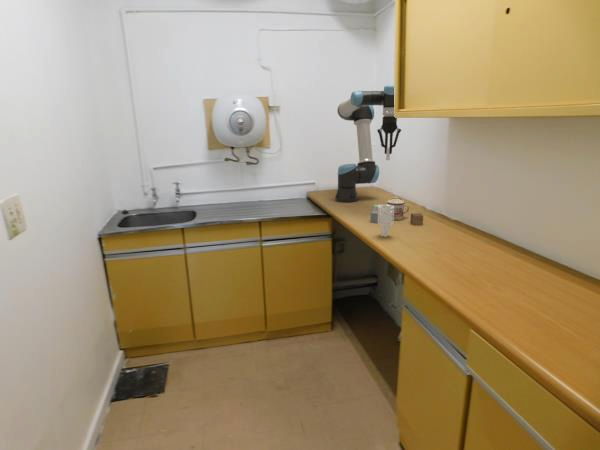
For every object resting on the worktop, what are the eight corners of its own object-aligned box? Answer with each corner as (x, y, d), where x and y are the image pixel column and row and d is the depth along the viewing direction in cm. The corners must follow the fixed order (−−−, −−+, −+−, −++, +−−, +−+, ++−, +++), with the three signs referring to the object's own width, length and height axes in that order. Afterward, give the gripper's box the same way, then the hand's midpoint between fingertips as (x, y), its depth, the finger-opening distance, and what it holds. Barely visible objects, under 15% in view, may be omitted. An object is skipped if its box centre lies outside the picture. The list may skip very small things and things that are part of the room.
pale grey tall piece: (379, 238, 168) (380, 206, 163) (375, 233, 174) (376, 202, 170) (394, 237, 168) (396, 205, 164) (390, 233, 175) (391, 202, 171)
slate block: (373, 219, 198) (373, 210, 197) (382, 220, 196) (382, 211, 195) (370, 222, 194) (370, 212, 193) (379, 223, 192) (380, 213, 191)
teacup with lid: (389, 220, 196) (390, 198, 193) (384, 216, 205) (385, 195, 202) (411, 219, 197) (412, 198, 194) (405, 215, 206) (407, 194, 203)
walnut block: (410, 222, 192) (410, 213, 191) (420, 222, 192) (420, 213, 191) (412, 225, 188) (413, 215, 186) (422, 225, 187) (423, 215, 186)
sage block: (372, 213, 212) (372, 204, 211) (380, 212, 213) (381, 204, 212) (375, 215, 207) (376, 206, 206) (384, 214, 208) (384, 206, 207)
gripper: (376, 116, 200) (375, 160, 207) (401, 115, 196) (399, 160, 203) (378, 116, 207) (376, 159, 214) (402, 115, 203) (400, 159, 210)
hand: (387, 159), depth 208 cm, fingers closed
